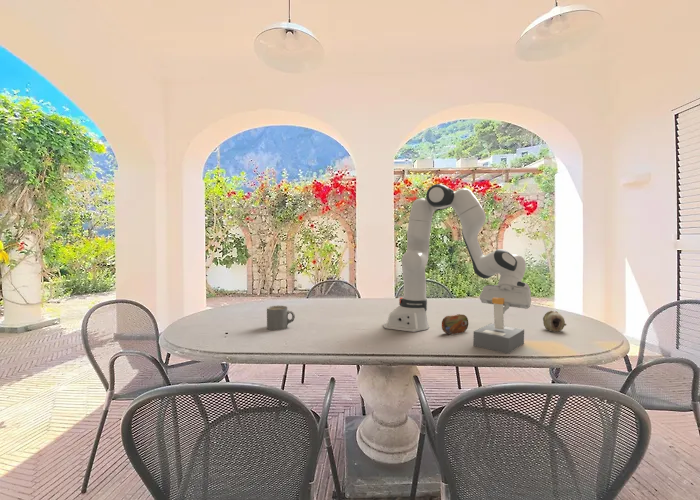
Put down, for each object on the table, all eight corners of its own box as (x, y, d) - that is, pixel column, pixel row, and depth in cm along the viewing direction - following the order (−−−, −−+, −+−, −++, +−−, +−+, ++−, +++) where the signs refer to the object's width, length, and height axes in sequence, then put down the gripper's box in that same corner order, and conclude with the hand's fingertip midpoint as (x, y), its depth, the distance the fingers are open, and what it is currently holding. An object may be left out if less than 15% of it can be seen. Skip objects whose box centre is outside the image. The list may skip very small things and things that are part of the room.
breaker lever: (495, 326, 144) (494, 297, 142) (505, 328, 141) (504, 298, 139) (493, 328, 142) (492, 298, 141) (503, 330, 140) (502, 299, 138)
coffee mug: (264, 330, 163) (264, 309, 163) (270, 324, 173) (269, 305, 172) (292, 330, 162) (292, 309, 162) (296, 325, 172) (296, 305, 172)
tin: (445, 335, 155) (445, 317, 155) (440, 333, 158) (440, 315, 157) (468, 331, 162) (469, 313, 162) (463, 329, 165) (464, 312, 164)
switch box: (490, 336, 153) (491, 323, 153) (523, 343, 144) (524, 329, 143) (473, 345, 141) (473, 331, 140) (508, 353, 131) (508, 338, 131)
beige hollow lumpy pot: (543, 334, 166) (536, 313, 168) (556, 329, 169) (549, 309, 171) (559, 333, 157) (551, 312, 159) (572, 328, 160) (564, 307, 162)
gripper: (482, 280, 154) (473, 304, 147) (532, 284, 140) (524, 312, 133) (486, 288, 157) (477, 313, 151) (535, 293, 143) (527, 321, 137)
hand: (499, 312), depth 142 cm, fingers closed, pressing on breaker lever
